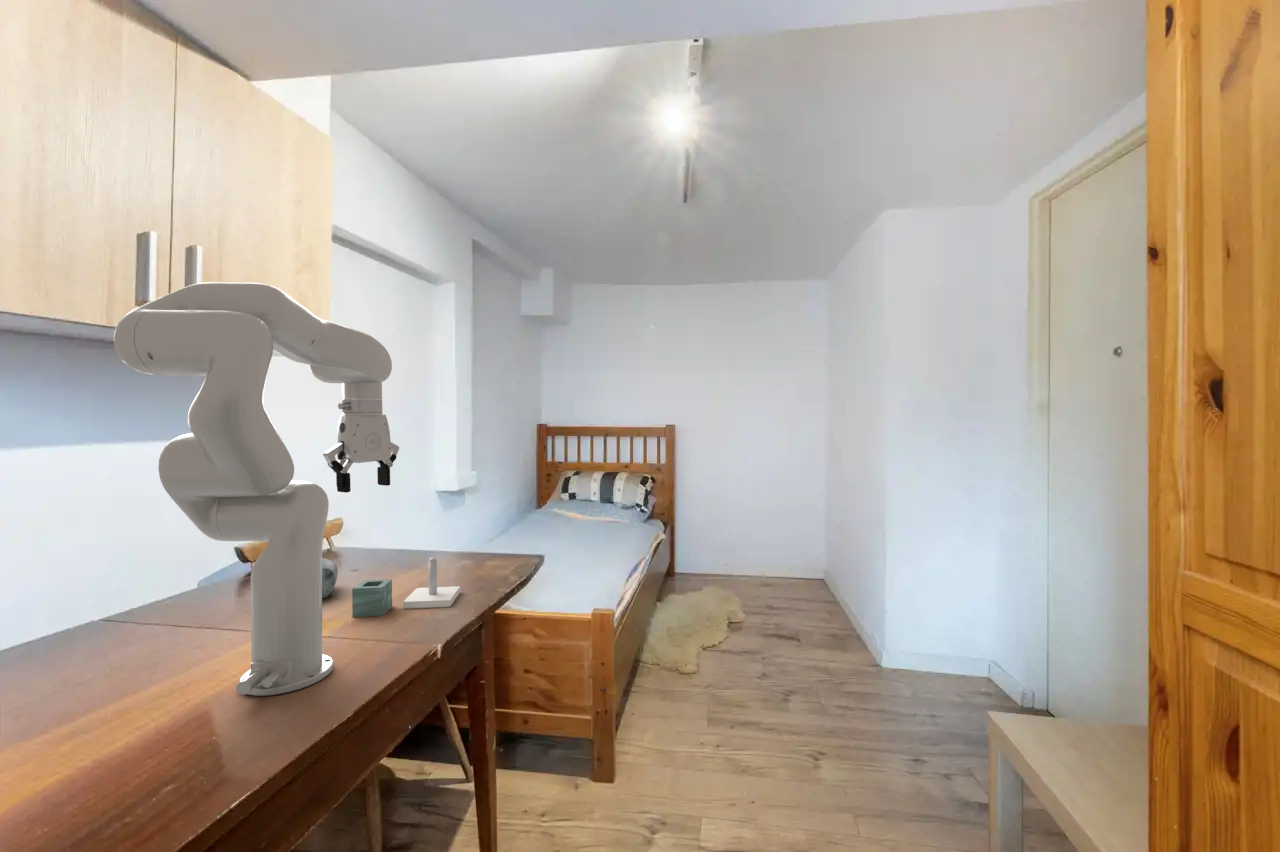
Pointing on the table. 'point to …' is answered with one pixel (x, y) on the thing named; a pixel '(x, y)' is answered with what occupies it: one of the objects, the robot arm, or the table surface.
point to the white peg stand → (432, 592)
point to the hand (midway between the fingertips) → (364, 488)
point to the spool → (328, 576)
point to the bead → (372, 598)
